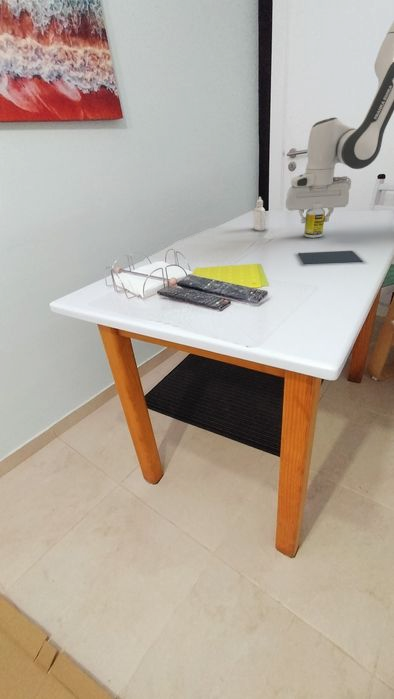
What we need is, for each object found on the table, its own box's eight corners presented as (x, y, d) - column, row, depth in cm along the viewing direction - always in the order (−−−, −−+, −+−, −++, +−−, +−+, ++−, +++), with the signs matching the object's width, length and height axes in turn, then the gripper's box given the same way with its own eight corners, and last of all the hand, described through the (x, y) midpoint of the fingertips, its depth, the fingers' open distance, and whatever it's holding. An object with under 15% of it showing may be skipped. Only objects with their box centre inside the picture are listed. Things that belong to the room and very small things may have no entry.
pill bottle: (313, 239, 117) (317, 205, 111) (300, 236, 121) (303, 203, 115) (326, 235, 119) (330, 202, 113) (312, 232, 124) (315, 200, 118)
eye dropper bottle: (253, 231, 133) (253, 198, 126) (253, 227, 137) (254, 196, 131) (264, 230, 132) (265, 197, 126) (264, 227, 137) (265, 195, 130)
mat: (351, 251, 103) (352, 250, 103) (362, 261, 95) (362, 261, 95) (298, 253, 105) (298, 253, 105) (304, 264, 97) (304, 263, 97)
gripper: (349, 174, 112) (343, 218, 119) (286, 179, 114) (284, 221, 122) (355, 176, 107) (348, 222, 114) (288, 181, 109) (286, 225, 116)
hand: (314, 222), depth 118 cm, fingers closed on pill bottle, 6 cm apart
